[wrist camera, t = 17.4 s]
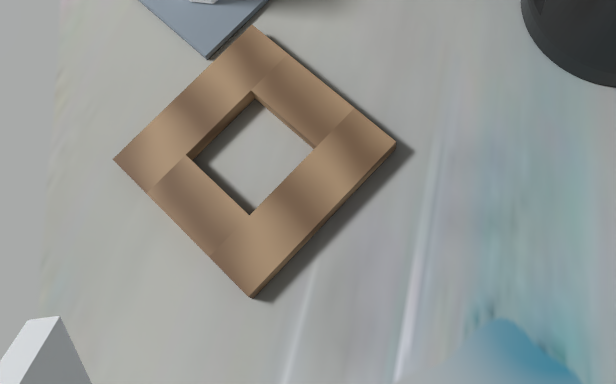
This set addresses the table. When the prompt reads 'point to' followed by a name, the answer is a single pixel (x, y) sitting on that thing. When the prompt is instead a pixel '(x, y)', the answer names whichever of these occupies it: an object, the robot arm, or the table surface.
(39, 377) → the robot arm
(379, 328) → the table surface
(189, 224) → the walnut frame
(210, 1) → the pepper shaker
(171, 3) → the grey mat
